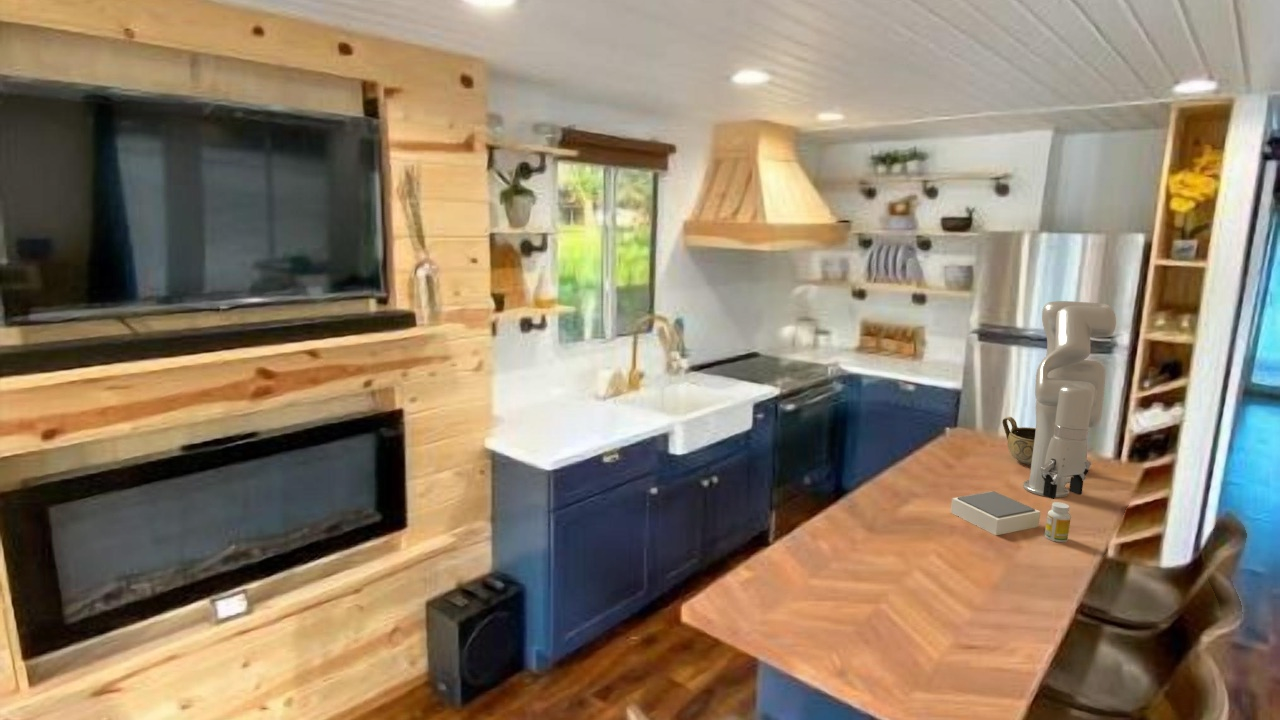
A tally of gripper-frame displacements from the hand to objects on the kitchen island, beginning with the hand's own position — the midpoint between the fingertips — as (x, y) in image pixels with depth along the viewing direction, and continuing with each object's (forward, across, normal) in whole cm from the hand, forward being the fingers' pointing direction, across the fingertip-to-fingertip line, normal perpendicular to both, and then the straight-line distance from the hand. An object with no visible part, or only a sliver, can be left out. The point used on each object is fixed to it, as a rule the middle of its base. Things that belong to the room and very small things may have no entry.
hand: (1062, 495), depth 189 cm
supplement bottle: (+13, -1, -1) cm, 13 cm away
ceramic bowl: (+11, -47, -47) cm, 67 cm away
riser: (+12, +5, -16) cm, 21 cm away
